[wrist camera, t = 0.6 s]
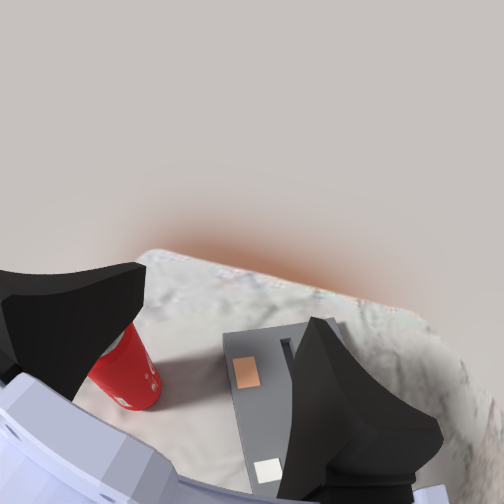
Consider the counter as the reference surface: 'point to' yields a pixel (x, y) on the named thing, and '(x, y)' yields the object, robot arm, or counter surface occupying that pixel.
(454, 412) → the counter surface
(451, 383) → the counter surface
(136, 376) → the beverage can
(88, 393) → the counter surface
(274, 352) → the fader console
